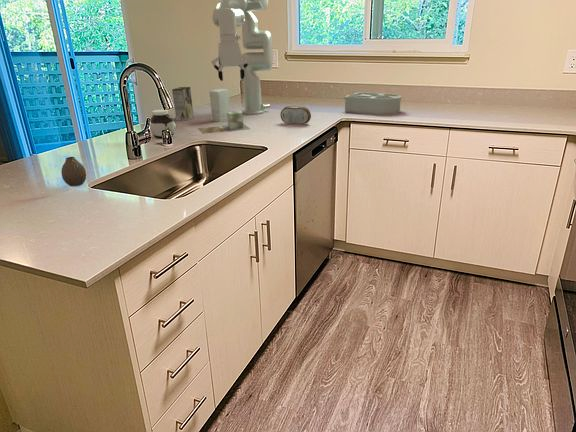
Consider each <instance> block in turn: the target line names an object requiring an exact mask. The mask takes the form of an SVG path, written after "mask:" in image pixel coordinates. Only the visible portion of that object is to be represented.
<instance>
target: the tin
mask: <svg viewBox="0 0 576 432" xmlns="http://www.w3.org/2000/svg"><path fill="white" fill-rule="evenodd" d="M280 118H281V120H282V122H283V123H284V124H287V125H298V126H299V125H301V126H302V125H306V124H308V123H309V122H311V121H310V120H311V118H312V113H311V111H310V109H309V108H307V107H306V106H295V105H294V106H292V105H290V106H289V105H287V106H285V107H284V108H282V110H281V111H280Z"/></svg>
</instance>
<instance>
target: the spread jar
mask: <svg viewBox="0 0 576 432" xmlns="http://www.w3.org/2000/svg"><path fill="white" fill-rule="evenodd" d="M151 114H152V116H151V117H150V119H151V124H150V123H149V126H150V127H149V128H150V133H151V134H152V136H153V137H154V138H155V139H159V140H160V139H161V140H163V139H162V130H165V129H167V130H170V131H171V135H172V137H173V135H174V134H175V130H176V128H177V127H176V126H177V125H176V123H175V121H174V119H173V118H172V116H171V115H170V114H169V110H168V109H165V110H164V109H155V110H152V111H151Z"/></svg>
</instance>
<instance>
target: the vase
mask: <svg viewBox="0 0 576 432" xmlns="http://www.w3.org/2000/svg"><path fill="white" fill-rule="evenodd" d="M61 177H62V178H61V179H62V180H63V182H64V183H65V184H66V185H68V186H69V187H78V186H82V185H83V184H84V183H85V181H86V180H87V172H86V168H85V167H84V165H83V164H82V163H81V162H80V161H78V160H77V159H76V157H74V156H69V157H66V158H65V161H64V162H63V165H62V166H61Z"/></svg>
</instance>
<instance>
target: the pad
mask: <svg viewBox="0 0 576 432" xmlns="http://www.w3.org/2000/svg"><path fill="white" fill-rule="evenodd" d="M197 129H198V131H200V133H201V134H211V133H212V134H213V133H223V132H225V131H224V130H223V129H222V128H221V127H220V126H210V127H200V128H197Z"/></svg>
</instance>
